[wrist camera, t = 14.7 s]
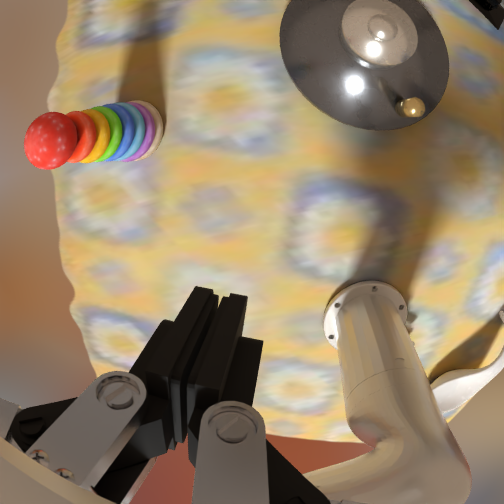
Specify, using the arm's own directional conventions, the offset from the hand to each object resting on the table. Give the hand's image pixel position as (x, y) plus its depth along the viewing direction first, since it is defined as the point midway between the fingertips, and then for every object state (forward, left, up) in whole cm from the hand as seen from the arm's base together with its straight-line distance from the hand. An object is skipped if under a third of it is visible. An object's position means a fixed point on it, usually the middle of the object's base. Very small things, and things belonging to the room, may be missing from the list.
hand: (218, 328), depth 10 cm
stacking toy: (+18, +3, -29) cm, 34 cm away
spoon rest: (-47, +6, -29) cm, 55 cm away
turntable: (-1, -20, -27) cm, 34 cm away
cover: (0, -21, -26) cm, 33 cm away
